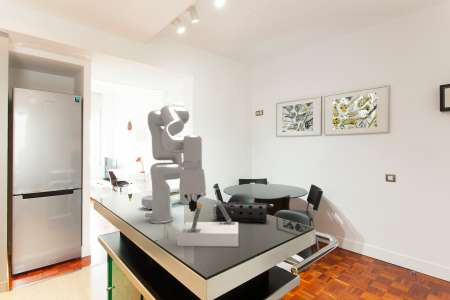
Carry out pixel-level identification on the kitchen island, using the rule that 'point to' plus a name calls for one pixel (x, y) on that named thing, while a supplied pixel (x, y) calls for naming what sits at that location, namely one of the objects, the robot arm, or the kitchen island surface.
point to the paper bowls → (147, 202)
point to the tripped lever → (196, 217)
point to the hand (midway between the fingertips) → (193, 210)
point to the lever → (224, 211)
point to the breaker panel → (208, 234)
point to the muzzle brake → (242, 211)
